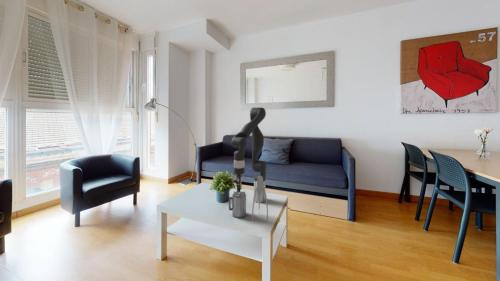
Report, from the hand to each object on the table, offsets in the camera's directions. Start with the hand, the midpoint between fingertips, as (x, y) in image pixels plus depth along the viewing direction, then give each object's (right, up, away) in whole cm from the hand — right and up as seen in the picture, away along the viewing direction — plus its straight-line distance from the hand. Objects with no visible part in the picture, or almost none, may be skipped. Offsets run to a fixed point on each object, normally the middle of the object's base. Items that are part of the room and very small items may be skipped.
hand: (239, 190), depth 140 cm
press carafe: (-1, -18, +2) cm, 18 cm away
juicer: (+14, -19, -1) cm, 23 cm away
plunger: (0, -14, +2) cm, 14 cm away
